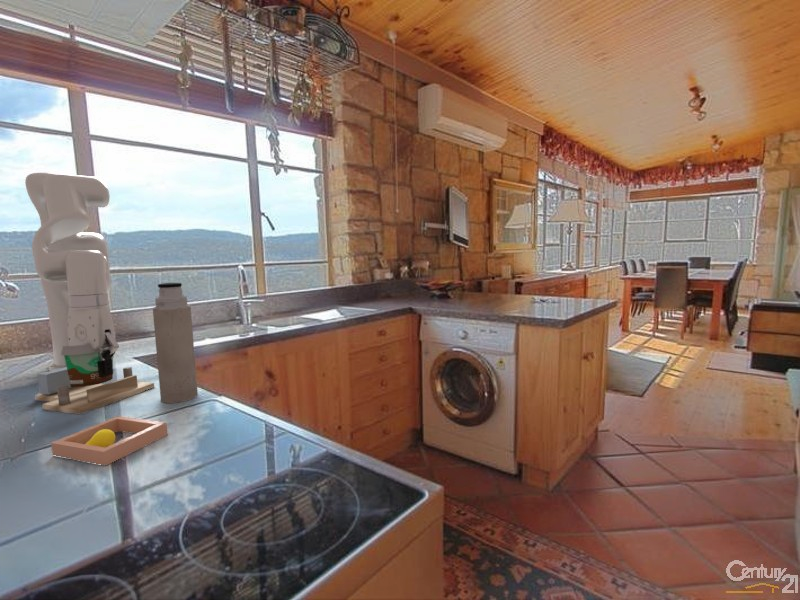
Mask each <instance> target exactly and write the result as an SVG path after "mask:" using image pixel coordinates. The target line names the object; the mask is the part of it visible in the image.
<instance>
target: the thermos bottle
mask: <svg viewBox="0 0 800 600" xmlns="http://www.w3.org/2000/svg"><path fill="white" fill-rule="evenodd" d="M182 285H183V284H182V282H164V283H163V282H162V283H158V284H157V288H159V289H158V296H157V297H156V298H155V299H154V300H155V302H154V304H155V307H152V317H153V326H154V327H153V328H154V337H155V338H154V339H155V349H156V362H157V371H158V383H159V385H158V386H159V392H160V394H159V395H160V402H162V403H165V404H177V403H183V402H187V401H190V400H192V399H195V398H196V397H198V395H199V392H198V382H197V369H196V358H195V347H194V346H195V345H194V331H193V321H192V307H191V305H190V304H188V297H187V296H186V295H184V294H183V289H182Z"/></svg>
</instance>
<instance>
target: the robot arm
mask: <svg viewBox="0 0 800 600" xmlns="http://www.w3.org/2000/svg"><path fill="white" fill-rule="evenodd" d="M24 180H25V181H24V182H25V189H26V192H27V195H28V197H29V199H30V202H32V204H33V206H34V208H35V210H36V211H37V214H38V216H39V220H40V227H39V228H38V229H37V231H36V232H35V234H34V235H33V239H32V244H31V246H32V247H31V248H32V249H31V250H32V255H33V256H32V257H33V261H34V267H35V270H36V274H37V275H38V276H39V278H40V285H41V287H42V291H43V294H44V297H45V301H46V305H47V312H48V319H49V327H50V335H51V345H52V352H53V353H52V355H49V359H50V360H53V363H52V364H49V365H48V371H51V370H55V369H59V368H63V367H67V366H66V362H65V357H64V355H61V352H62V349H63V346H78V345H88V344H90V347H91V349H92V350H98V349H99V350H100V352H98V357H99V360H100V361H97V362H98V372H99V377H105V376H109V375H112V374H113V375H114V364H113V365H112V359H113V360H114V357H115V356H114V355H115V354H116V352H117V351H118V349H119V347H120V346H119V344H118V342H117V340H116V331H115V326H114V320H113V316H112V313H111V308H110V305H109V293H110V291H111V289H112V288H111V287H112V286H111V285H112V282H111V267H110V257H109V250H108V249H109V248H108V247H109V246H108V243H107V240H106V239H105V237H104V236H103V235H102V234H100V233H97V232H85V231H86V230H87V229H88V228H89V227H90V225H91V218H90V215H89V211H88V208H89V207H90V208H106V207H107V206H108V205H109V202H110V198H111V197H110V191H109V187H108V185H107V183H106V182H105V181H104V179H103V178H101V177H96V176H89V175H88V176H87V175H79V174H78V175H77V174H68V173H67V174H66V173H58V172H57V173H56V172H34V173H29V174H28V175H27V176H26V177H25V179H24ZM105 343H107V344H108V346H107V347H106V348H104V349H108V350H106V351H105V352H104V354H103V352H102V350H103V349H102V348H100V347H103V344H105Z"/></svg>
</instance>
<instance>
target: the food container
mask: <svg viewBox="0 0 800 600" xmlns="http://www.w3.org/2000/svg"><path fill="white" fill-rule="evenodd" d="M107 346H108V344H107V343H105V344H103V347H100V348H102V349H103V350H102V352H103V354H104V352H105V351H106V350H108V349H104V348H106V347H107ZM98 352H100V350H99V349H98V350H92V349H91V347H90V344H88V345H78V346H63V349H62V352H61V355H64V357H65V362H66V366H67V371H68V376H69V381H70V385H71V387H83V386H91V385H96V384H105V383H107V382H109V381H110V382H111V381H112V380H113V378H114V377H113V375H114V373H113V374H112V375H109V376H105V377H99V372H98V362H97V361H100V360H99V357H98ZM112 365H113V366H114V358H113V359H112Z"/></svg>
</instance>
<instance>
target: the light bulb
mask: <svg viewBox="0 0 800 600" xmlns="http://www.w3.org/2000/svg"><path fill="white" fill-rule="evenodd" d="M114 443H116V433H114V432H113V431H111V430H108V429H103V430H100V431H98V432H97V433H95V434H94V436H93V437H92V438H91V439H90V440H89V441H88V442H87V443H86V445H92V446H98V447H104V448H106V447H108V446H110V445H112V444H114Z"/></svg>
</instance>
